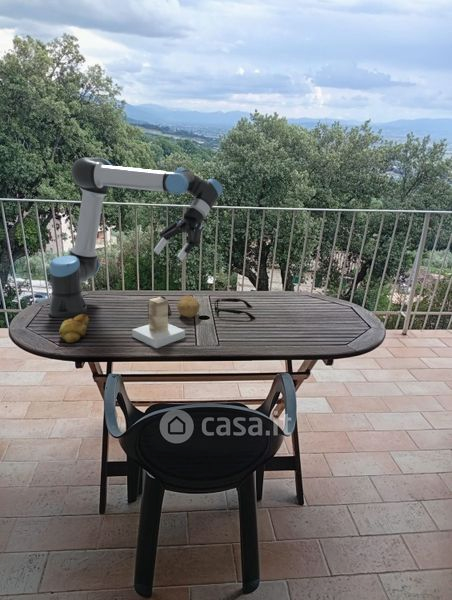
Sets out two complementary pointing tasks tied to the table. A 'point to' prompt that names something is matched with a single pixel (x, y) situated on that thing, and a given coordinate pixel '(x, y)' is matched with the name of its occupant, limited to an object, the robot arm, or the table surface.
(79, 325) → the bread roll
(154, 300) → the beech block
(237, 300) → the glasses
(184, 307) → the potato
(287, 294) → the table surface
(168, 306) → the brown arched figurine
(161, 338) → the stone tile base
